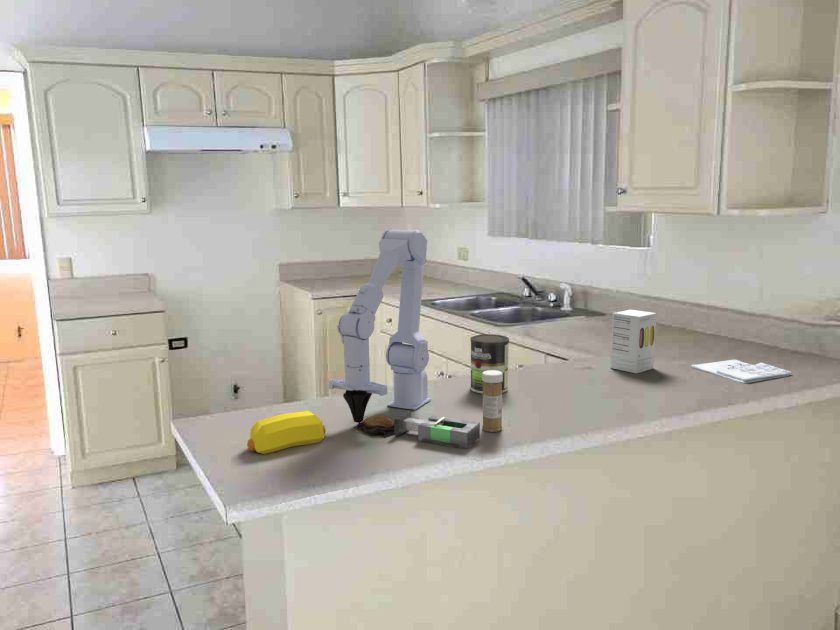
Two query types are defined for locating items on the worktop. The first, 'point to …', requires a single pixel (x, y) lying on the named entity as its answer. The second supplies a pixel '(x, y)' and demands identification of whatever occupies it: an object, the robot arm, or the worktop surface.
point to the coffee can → (488, 359)
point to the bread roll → (376, 426)
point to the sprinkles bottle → (492, 400)
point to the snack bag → (742, 371)
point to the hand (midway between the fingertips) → (358, 421)
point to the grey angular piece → (410, 423)
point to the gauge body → (450, 432)
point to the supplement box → (633, 341)
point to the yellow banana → (285, 432)
